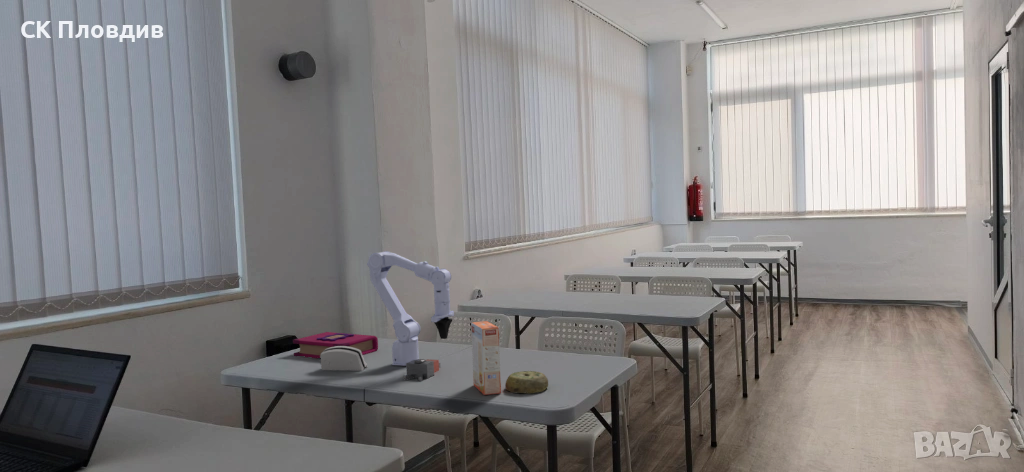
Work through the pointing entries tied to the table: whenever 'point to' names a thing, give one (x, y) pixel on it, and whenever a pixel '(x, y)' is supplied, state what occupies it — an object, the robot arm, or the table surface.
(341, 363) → the white napkin holder
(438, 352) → the table surface
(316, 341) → the book
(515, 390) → the greenish tan ring
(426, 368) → the coupler
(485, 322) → the cracker box
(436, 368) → the red notched block
